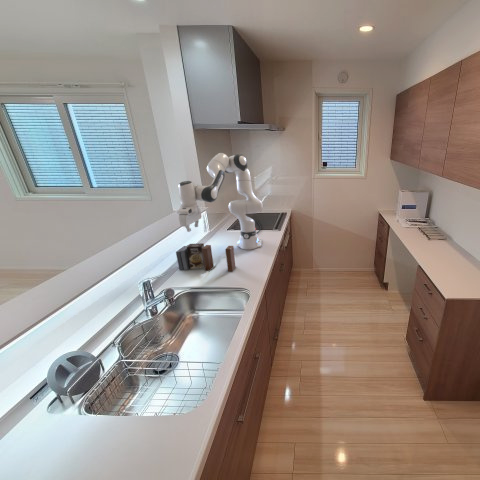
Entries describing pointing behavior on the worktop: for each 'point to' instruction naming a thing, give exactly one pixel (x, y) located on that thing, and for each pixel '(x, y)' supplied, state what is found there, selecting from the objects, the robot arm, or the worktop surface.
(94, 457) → the worktop surface
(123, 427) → the worktop surface
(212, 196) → the robot arm
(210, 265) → the brown wooden bookends
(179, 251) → the grey books
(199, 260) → the coffee box
